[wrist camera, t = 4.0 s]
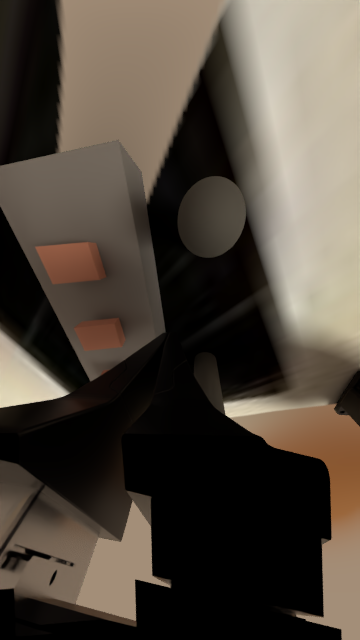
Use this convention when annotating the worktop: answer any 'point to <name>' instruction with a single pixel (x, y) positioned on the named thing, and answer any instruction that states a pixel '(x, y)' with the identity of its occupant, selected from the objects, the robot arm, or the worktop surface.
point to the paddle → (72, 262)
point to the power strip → (90, 226)
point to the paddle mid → (100, 334)
